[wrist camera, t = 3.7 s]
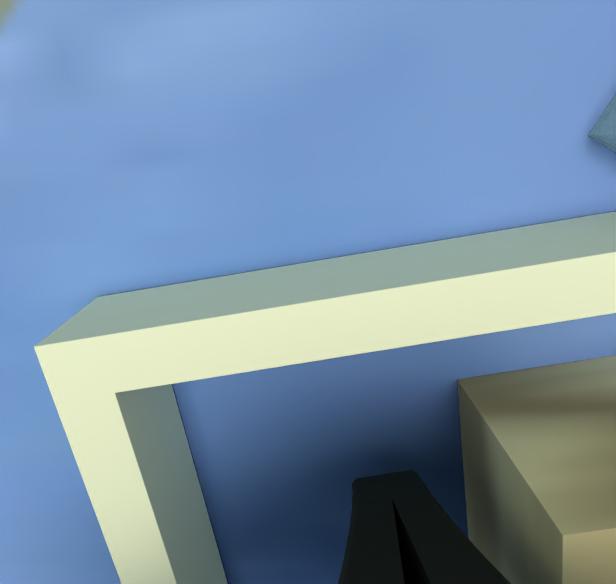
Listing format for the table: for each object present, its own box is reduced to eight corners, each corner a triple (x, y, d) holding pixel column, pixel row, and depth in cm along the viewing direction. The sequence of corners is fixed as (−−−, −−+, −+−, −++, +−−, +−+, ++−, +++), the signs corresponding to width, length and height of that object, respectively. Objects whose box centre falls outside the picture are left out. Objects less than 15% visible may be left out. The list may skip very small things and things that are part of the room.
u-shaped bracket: (214, 670, 13) (197, 787, 11) (97, 297, 10) (33, 346, 7) (688, 601, 13) (779, 707, 10) (733, 191, 9) (880, 208, 7)
